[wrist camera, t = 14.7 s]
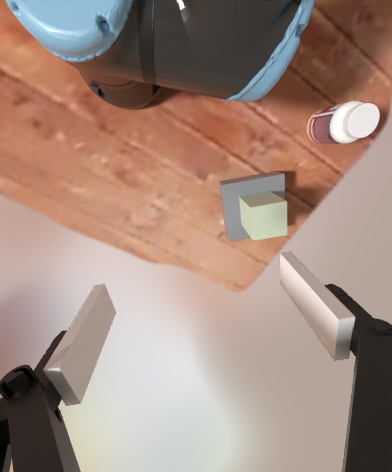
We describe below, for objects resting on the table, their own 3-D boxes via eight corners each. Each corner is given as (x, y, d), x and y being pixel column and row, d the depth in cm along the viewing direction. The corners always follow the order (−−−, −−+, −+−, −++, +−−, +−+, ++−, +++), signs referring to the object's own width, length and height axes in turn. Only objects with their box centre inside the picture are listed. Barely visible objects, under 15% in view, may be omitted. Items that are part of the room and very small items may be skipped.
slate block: (219, 181, 46) (222, 185, 43) (276, 171, 46) (284, 173, 42) (225, 234, 51) (229, 241, 47) (277, 224, 51) (285, 231, 47)
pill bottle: (323, 149, 45) (364, 151, 35) (299, 133, 44) (334, 131, 33) (343, 118, 43) (393, 111, 33) (319, 101, 42) (363, 88, 31)
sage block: (239, 196, 44) (250, 207, 36) (269, 191, 44) (287, 201, 36) (241, 224, 46) (252, 240, 39) (270, 219, 46) (287, 234, 39)
